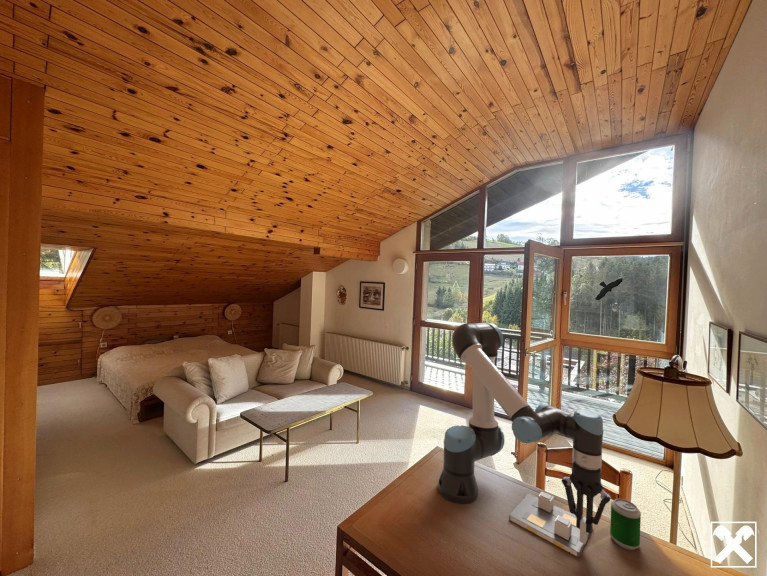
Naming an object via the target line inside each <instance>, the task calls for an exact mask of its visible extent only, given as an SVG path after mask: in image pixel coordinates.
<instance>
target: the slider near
mask: <svg viewBox="0 0 767 576" xmlns="http://www.w3.org/2000/svg"><path fill="white" fill-rule="evenodd" d="M554 533H555V534H557V535H559V536H561V537H563V538H565V539H567V540H569V538H570V536H571V534H572V522H571V521H570V520H568V519H566V518H563V517H561V516H559V515H558V516H557V518H556V519H555V525H554Z"/></svg>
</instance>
